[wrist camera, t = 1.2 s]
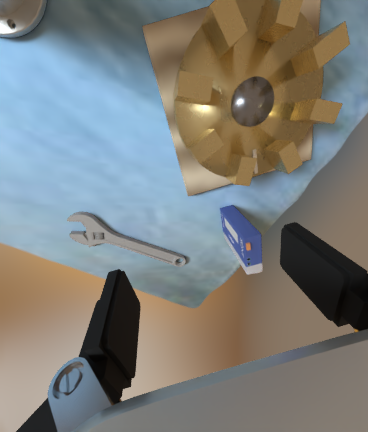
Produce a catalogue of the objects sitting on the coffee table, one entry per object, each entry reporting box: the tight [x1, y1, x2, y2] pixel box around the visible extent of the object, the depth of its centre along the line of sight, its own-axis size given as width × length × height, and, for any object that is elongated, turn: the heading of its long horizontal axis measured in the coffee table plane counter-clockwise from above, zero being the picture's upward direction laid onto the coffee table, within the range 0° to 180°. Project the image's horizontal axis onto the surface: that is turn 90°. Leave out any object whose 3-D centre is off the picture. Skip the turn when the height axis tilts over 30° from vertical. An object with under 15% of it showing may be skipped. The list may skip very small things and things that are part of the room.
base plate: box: [142, 0, 321, 196], centre depth 29 cm, size 24×24×2 cm
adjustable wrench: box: [67, 212, 186, 267], centre depth 39 cm, size 25×6×2 cm, turn 57°
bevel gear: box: [173, 0, 350, 186], centre depth 26 cm, size 22×22×6 cm
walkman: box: [220, 205, 262, 275], centre depth 34 cm, size 8×3×12 cm, turn 12°
